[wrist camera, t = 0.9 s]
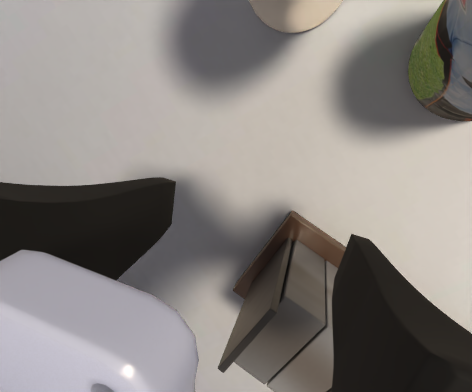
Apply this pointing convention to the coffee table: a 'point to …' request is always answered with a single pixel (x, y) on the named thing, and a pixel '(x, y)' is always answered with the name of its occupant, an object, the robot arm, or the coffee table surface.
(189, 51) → the coffee table surface
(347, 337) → the robot arm
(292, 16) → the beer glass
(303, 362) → the walnut book board
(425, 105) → the beverage can
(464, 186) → the coffee table surface
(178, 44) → the coffee table surface
